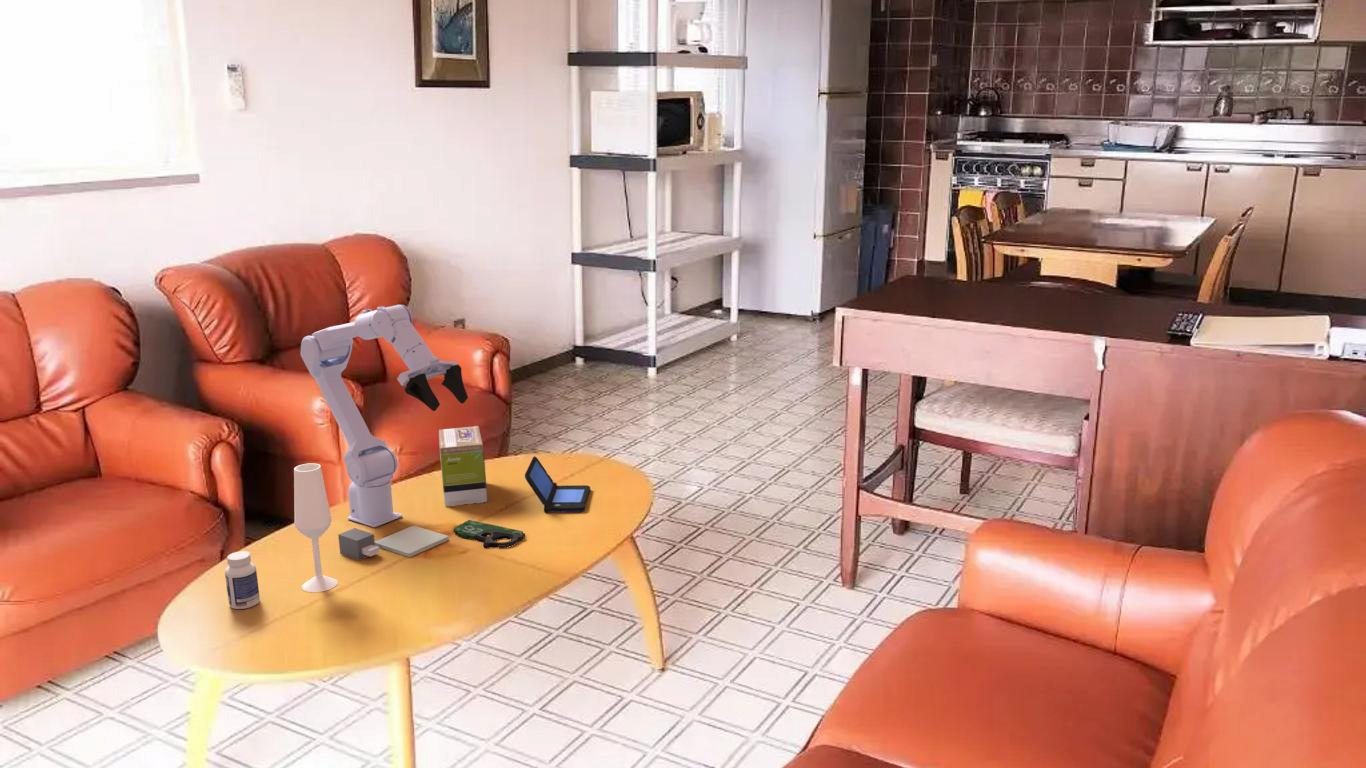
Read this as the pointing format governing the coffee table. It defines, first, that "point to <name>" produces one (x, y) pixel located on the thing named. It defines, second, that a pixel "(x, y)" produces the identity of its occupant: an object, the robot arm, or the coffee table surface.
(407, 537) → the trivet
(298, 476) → the champagne flute
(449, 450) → the tea box
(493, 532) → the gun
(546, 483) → the handheld game console
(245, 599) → the pill bottle
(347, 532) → the connector plug
